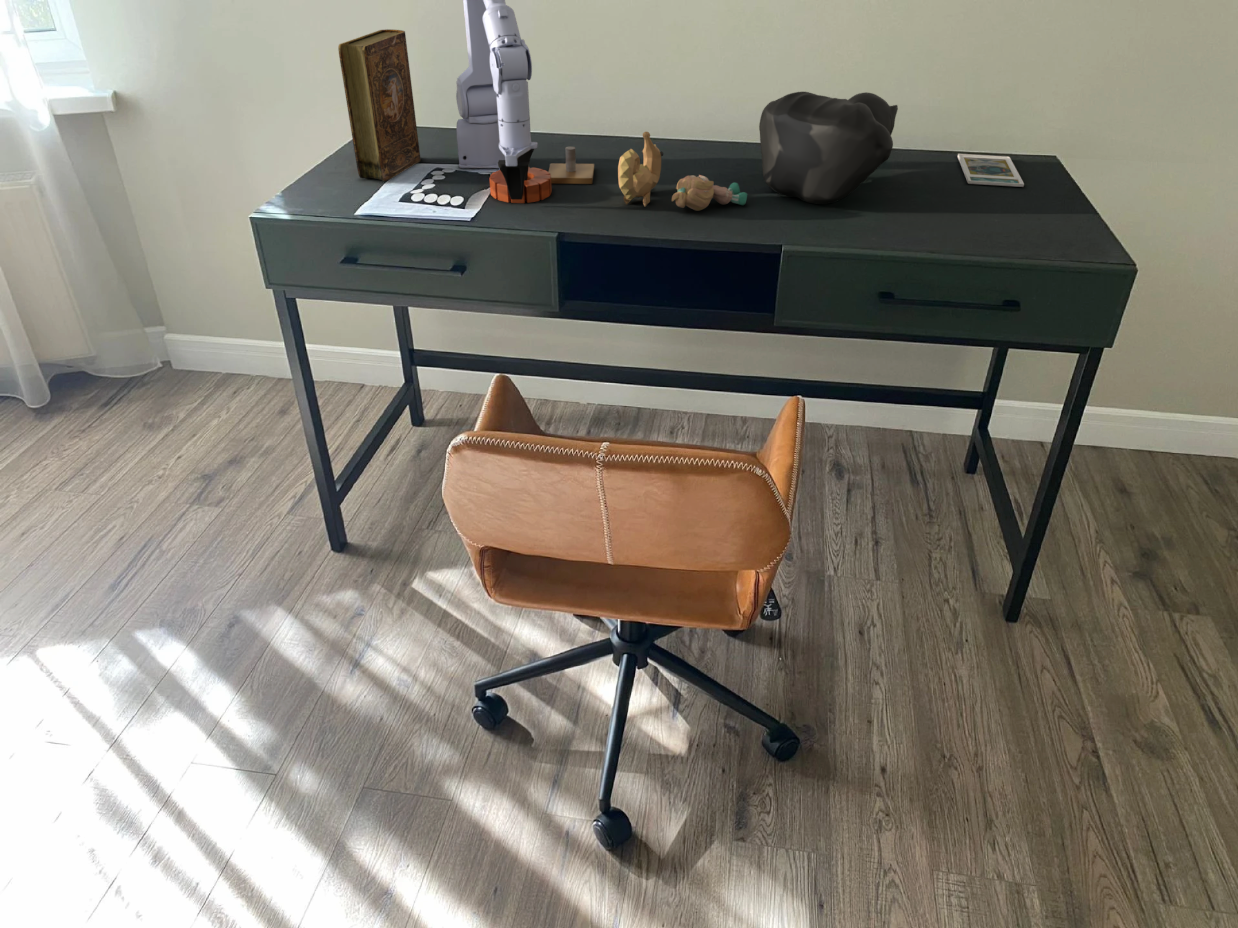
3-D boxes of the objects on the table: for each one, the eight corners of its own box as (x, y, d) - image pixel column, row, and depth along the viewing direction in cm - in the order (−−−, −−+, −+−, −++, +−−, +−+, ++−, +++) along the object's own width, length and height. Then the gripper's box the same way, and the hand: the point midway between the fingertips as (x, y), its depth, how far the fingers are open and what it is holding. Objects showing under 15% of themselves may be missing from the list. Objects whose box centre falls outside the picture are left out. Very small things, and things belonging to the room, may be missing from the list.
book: (400, 156, 193) (383, 29, 178) (423, 159, 192) (408, 30, 177) (359, 180, 180) (337, 45, 166) (383, 183, 179) (363, 47, 164)
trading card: (1009, 156, 193) (1024, 184, 178) (1008, 159, 193) (1023, 187, 179) (957, 153, 194) (968, 180, 180) (957, 156, 195) (967, 183, 180)
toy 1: (608, 151, 157) (644, 120, 173) (608, 218, 165) (643, 182, 180) (637, 154, 156) (671, 122, 171) (636, 222, 163) (668, 186, 178)
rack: (546, 183, 179) (545, 154, 176) (550, 169, 187) (549, 141, 183) (592, 184, 179) (591, 155, 176) (594, 169, 187) (593, 141, 183)
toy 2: (756, 182, 167) (686, 163, 160) (749, 220, 168) (679, 204, 161) (732, 185, 174) (664, 168, 167) (726, 222, 175) (658, 206, 168)
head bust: (729, 108, 167) (820, 47, 181) (735, 206, 182) (819, 142, 195) (860, 139, 152) (950, 69, 166) (856, 243, 166) (938, 171, 180)
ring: (487, 203, 170) (485, 186, 169) (495, 182, 180) (494, 166, 178) (548, 203, 170) (548, 186, 168) (553, 183, 180) (553, 167, 178)
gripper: (532, 130, 157) (535, 206, 165) (539, 108, 169) (543, 180, 177) (491, 129, 157) (497, 206, 165) (502, 107, 169) (507, 180, 177)
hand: (518, 193), depth 171 cm, fingers open, 6 cm apart
